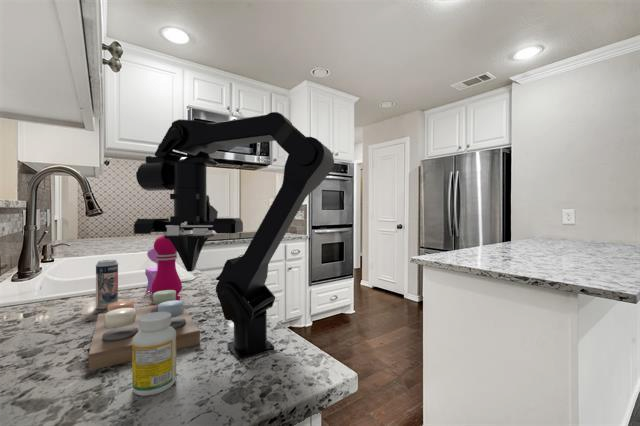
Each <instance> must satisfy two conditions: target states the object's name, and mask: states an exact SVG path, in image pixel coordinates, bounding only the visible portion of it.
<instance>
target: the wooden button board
mask: <svg viewBox="0 0 640 426" xmlns="http://www.w3.org/2000/svg"><path fill="white" fill-rule="evenodd" d="M134 309H135V322H134V323H132V324H130V325H127V326H123V327H117V328H108V327H106V326H105V314H106V313H107V312H103V313H98V315H97V319H96V322H95V323H96V324H95V327H94V332H93V336H92V340H91V343H90V348H89V352H88V372H90V371H93V370H98V369H101V368H102V369H103V368H106V367H111V366H115V365H118V364H119V365H120V364H124V363H128V362H132V342H133V338H134V336H135V335H136V334H137V333H138V332H139V331H141V330H139V328H138V319H139V317H141V316H143V315H145V314H148V313H153V312H158V305H154V306H153V305H150V306H149V305H147V306H142V307H137V308H136V307H134ZM169 326H171V327H173V328H174V329H175V330H176V351H177V350H181V349H185V348H188V347H192V346H197V345H200V344H201V330H200V328H199V327H198V326H197V324H196V322H195V321H194V319H193V318H192V317H191V315H190V314H189V312H188V311H187V309H186V307H184V313H183V314H182V315H180V316H177V317H172V318H171V324H170V325H169Z"/></svg>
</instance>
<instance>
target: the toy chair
mask: <svg viewBox="0 0 640 426" xmlns="http://www.w3.org/2000/svg"><path fill="white" fill-rule="evenodd" d="M176 253H177V254H178V252H177V251H176ZM146 254H147V258H148V259H149V260H150V261H151V262H153V263H155V264H156V267H150V268H149V267H147V268H145V272H144V274H145V276H146V280H147V287H146V289H145V293H149V292H148V291H151V287H152V283H153V281H154V279H155V276H156V274H157V270H158V260H156V257H157V256H156V255H157V254H158V253H157V252H156V251H155V249H154V246H153V247H151V248H149V250H148V251H147V253H146Z"/></svg>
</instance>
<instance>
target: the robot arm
mask: <svg viewBox="0 0 640 426" xmlns="http://www.w3.org/2000/svg"><path fill="white" fill-rule="evenodd" d="M274 141H275V142H276V143H277V144H278V145H279V147H280V148H282V149H283V150H284V151H285V152H286V153H287V158H286V160H285V164H284V168H283V177H282V179H283V180H282V184H281V187H280V188H279V190H278V191H277V194H276V196H275V197H274V199H273V201H272V202H271V205H270V207H269V208H268V210H267V212H266V214H265V215H264V218H263V219H262V221H261V223H260V224H259V226H258V228H257V230H256V232H255V234H254V236H253V237H252V238H251V239H252V240H251V241H250V242H249V244H248V246H247V247H246V250H245V252H244V253H243V254H242V256H237V257H234V258H230V259H226V261H225V262H224V263H223V264H224V265H223V268H222V270H221V272H220V274H219V275H218V276H217V277H215V280H216V281H218V282H216V286H215V293H216V296H217V299H218V301H219V304H220V307H221V311H222V314H223V317H224V320H225V321H231V322H232V323H233V341H228V342H227V348H228V349H229V350H230V352H232V354H233V355H234V356H235V357H236V358H237V359H238V360H243V359H247V358H250V357H252V356H257V355H260V354H264V353H267V352H271V351H274V350H275V345H274V344H272V342H270V341H269V339H268V338H267V337H268V336H267V335H268V332H267V331H268V327H267V322H268V321H267V320H268V318H267V316H268V314H267V312H268V311H267V310H269V309H270V308H273V306H274V304H275V301H276V296H275V294H274V293H273V292H272V291H271V290H270V289H269V288H268V287H267V285H266V281H267V279H268V272H269V264H270V262H271V260H272V258H273V256H274V254H275V253H276V251H277V249H278V248H279V245H280V244H281V242H282V240H283V239H284V237H285V235H286V234H287V232H288V230H289V229H290V226H291V224H292V222H293V221H294V219H296V218H295V217H297V214H298V212H299V210H300V209H301V207H302V205H303V203H304V201H305V200H306V198H307V197H308V196H309V195H310V194H311V193H312V192H313V191H315V190H316V189H317V188H318V187H319V186H320V185H321V184H322V183H323V181H325V179H326V178H327V177H328V176H329V174H330V173H331V172H332V170H333V168H334V165H335V159H334V154H333V153H332V151H331V150H330V149H329V148H328V147H327V146H326V145H324V143H323V142H321V141H319V140H318V138H315V137H312V136H306V135H304V133H302V132H301V131H300V130H299V129H298V128H297V127H295V126H294V124H293V123H292V122H291V121H290V119H288V118H287V117H285V115H283V114H282V113H280V112H277V111H271V112H269V113H267V114H262V115H255V116H249V117H242V118H236V119H230V120H223V121H217V122H206V121H201V120H197V119H195V120H194V119H181V118H180V119H176V120H174V121H173V122H172V123H171V126H169V128H168V129H167V131H166V133H165V135H164V137H163V138H162V140H161V141H160V143H159V144H158V146H157V149H156V151H155V153H154V156H152V155H151V156H150V155H148V156H146V157H145V162H144V163H141V164H140V165H139V166H138V168H137V171H136V173H135V177H136V178H135V179H136V182H137V183H138V185H139V186H140V188H142V189H143V190H145V191H148V192H151V191H152V192H153V191H154V192H157V191H173V193H169V198H170V200H172V201H173V215H172V216H171V215H170V216H169V217H168V218H164V217H163V218H157V217H156V218H152V217H151V218H136V220H135V222H134V223H133V227H132V228H133V231H132V232H133V235H149V234H152V233H163V232H167V236H164V235H163V236H164V237H165V239H169V240H170V241H171V243H172V244H173V246H174V247H175V249H176V250H177V255H178V257H179V258H180V259H181V261H182V263H183V265H184V268H185V269H186V272H193V271H195V268H196V265H197V262H198V260H199V257H200V254H201V251H202V249H203V247H204V245H205V243H206V242H207V240H208V239H209V238H213V237H214V236H215V233H216V234H219V235H220V234H237V233H243V232H244V223H243V220H242V219H241V217H221V218H220V217H218V214H219V213H218V210H217V209H216V208H215V207H214V206H212V205H211V203H210V196H209V194H207V167H215V166H216V165H217V164H218V163H217V161H215V160H214V159H213V158H212V157H211V156H210V155H212V154H214V153H216V152H217V151H219V150H220V149H222V148H226V147H233V146H234V147H235V146H242V145H250V144H258V143H264V142H265V143H266V142H274ZM185 223H186V224H185ZM189 231H192V233H189ZM213 231H214V232H215V233H214V232H213Z"/></svg>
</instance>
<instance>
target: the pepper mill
mask: <svg viewBox="0 0 640 426" xmlns="http://www.w3.org/2000/svg"><path fill="white" fill-rule="evenodd" d="M162 234H163V235H161V236H159V237H157V238H156V239H155V240H154V242H153V247H154V249H155V251H156V252H157V253H158V254H157V255H156V256H157V257H156V260H158V270H157V274H156V276H155V279H154V281H153V283H152V287H151V292H150V293H151V295H153V293H155V292H158V291H163V290H175V291H176V300H180V301H181V296H180V295H179V294H180V292H181V291H182V289H183V285H182V280H181V278H180V276H179V274H178V271H177V268H176V267H177V266H176V261H177V259H178V252H177V253H176V251H177V250H176V249H175V247H174V246H173V244H172V243H171V241H170V240H169V239H165V237H164V236H167V232H162ZM152 304H153V303H152ZM154 305H157V304H153V305H152V306H154Z"/></svg>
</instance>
